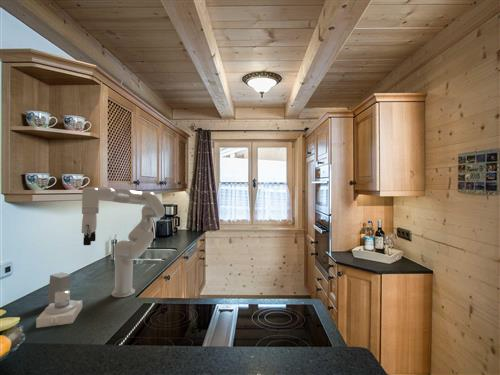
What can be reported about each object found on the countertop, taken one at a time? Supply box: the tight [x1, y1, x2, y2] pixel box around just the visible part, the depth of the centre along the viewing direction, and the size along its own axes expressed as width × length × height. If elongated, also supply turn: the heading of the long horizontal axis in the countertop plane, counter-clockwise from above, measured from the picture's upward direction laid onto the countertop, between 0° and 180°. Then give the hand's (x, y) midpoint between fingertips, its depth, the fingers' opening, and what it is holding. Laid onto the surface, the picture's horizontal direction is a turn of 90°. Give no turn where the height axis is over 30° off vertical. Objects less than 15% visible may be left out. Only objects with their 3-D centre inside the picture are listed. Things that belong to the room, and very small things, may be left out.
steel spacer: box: [55, 289, 71, 309], centre depth 127 cm, size 6×6×7 cm
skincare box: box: [46, 272, 72, 306], centre depth 140 cm, size 8×7×16 cm
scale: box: [35, 299, 83, 328], centre depth 126 cm, size 17×14×5 cm
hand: (89, 243), depth 136 cm, fingers open, 9 cm apart
